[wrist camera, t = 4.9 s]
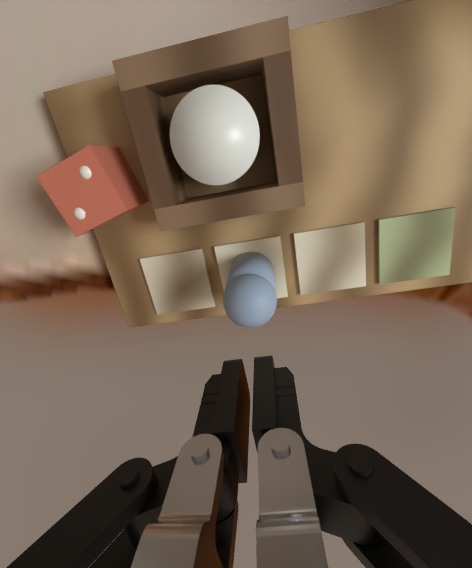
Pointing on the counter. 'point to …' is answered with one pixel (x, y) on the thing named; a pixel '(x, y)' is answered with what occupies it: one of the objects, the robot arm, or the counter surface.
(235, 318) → the pawn
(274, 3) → the counter surface
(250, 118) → the dome
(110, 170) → the die
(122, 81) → the board
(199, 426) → the robot arm
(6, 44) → the counter surface
